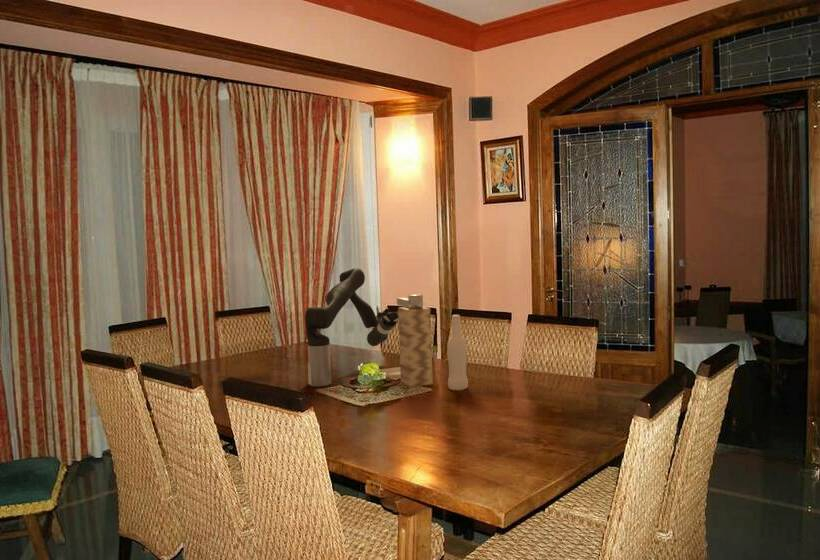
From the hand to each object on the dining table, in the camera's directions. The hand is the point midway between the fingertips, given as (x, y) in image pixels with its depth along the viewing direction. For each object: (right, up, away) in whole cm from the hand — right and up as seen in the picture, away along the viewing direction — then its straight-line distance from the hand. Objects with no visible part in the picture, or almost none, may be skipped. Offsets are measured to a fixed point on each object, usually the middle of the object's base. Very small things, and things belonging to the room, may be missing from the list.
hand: (396, 309), depth 290 cm
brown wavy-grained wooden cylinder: (+9, -30, -17) cm, 36 cm away
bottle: (+25, -31, -29) cm, 49 cm away
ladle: (+6, +2, -14) cm, 15 cm away
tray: (0, -30, -4) cm, 30 cm away
